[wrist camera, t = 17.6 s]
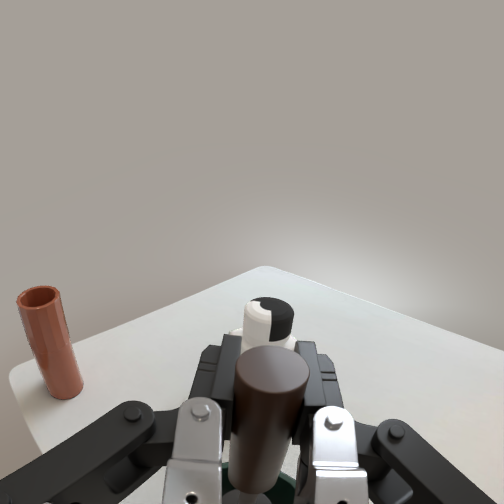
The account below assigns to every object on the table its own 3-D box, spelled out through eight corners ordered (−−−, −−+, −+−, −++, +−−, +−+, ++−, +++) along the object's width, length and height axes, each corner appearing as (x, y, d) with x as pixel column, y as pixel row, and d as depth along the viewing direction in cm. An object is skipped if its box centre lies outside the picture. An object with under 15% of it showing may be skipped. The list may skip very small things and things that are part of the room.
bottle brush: (231, 554, 12) (253, 423, 6) (209, 521, 15) (200, 349, 9) (272, 536, 14) (348, 380, 8) (248, 506, 16) (285, 326, 11)
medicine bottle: (266, 356, 46) (276, 287, 41) (295, 383, 40) (311, 312, 36) (225, 370, 42) (229, 297, 38) (252, 402, 36) (262, 327, 32)
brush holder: (48, 402, 29) (13, 311, 24) (47, 374, 34) (20, 288, 29) (85, 397, 32) (58, 306, 27) (81, 369, 37) (60, 283, 32)
